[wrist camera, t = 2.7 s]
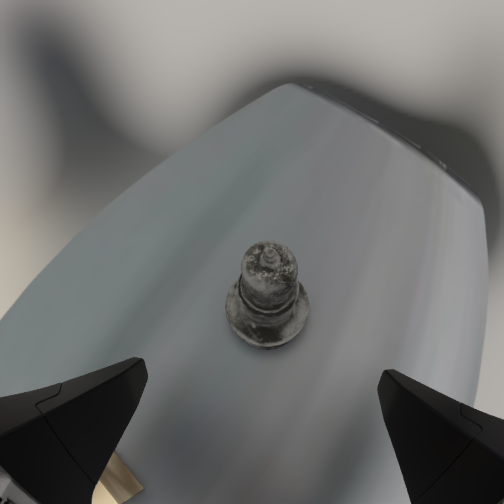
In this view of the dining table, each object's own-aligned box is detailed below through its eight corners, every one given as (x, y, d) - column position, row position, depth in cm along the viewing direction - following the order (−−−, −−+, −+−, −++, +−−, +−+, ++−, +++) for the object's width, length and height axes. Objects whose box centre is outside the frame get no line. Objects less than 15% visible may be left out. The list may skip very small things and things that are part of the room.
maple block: (144, 488, 17) (119, 505, 13) (108, 506, 16) (80, 522, 11) (108, 442, 19) (77, 449, 14) (76, 463, 17) (43, 471, 13)
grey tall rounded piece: (277, 271, 25) (286, 179, 15) (316, 327, 23) (361, 268, 12) (217, 306, 24) (182, 233, 14) (254, 366, 22) (247, 343, 11)
